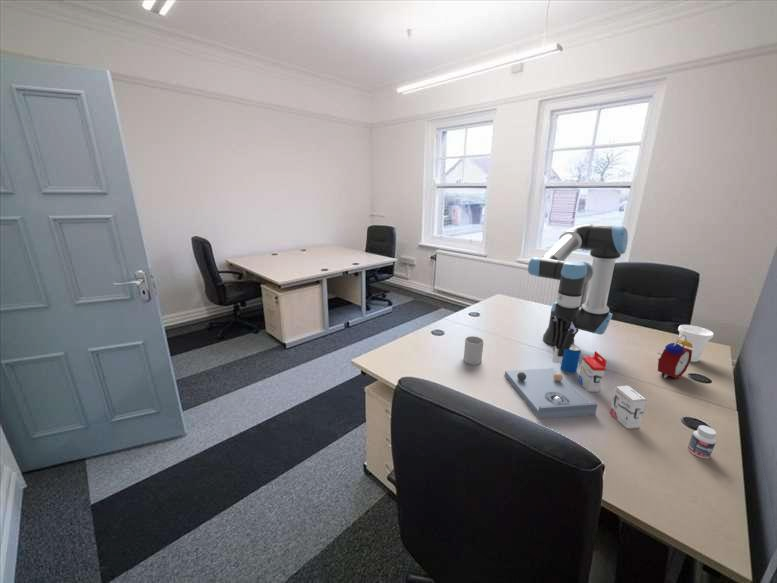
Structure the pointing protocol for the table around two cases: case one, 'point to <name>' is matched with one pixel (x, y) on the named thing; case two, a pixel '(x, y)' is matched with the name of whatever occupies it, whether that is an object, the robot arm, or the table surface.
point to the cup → (695, 339)
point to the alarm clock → (675, 358)
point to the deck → (549, 394)
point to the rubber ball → (521, 376)
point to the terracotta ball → (558, 377)
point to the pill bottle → (702, 441)
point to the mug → (473, 350)
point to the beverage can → (570, 359)
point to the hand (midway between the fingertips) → (556, 362)
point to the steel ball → (557, 399)
